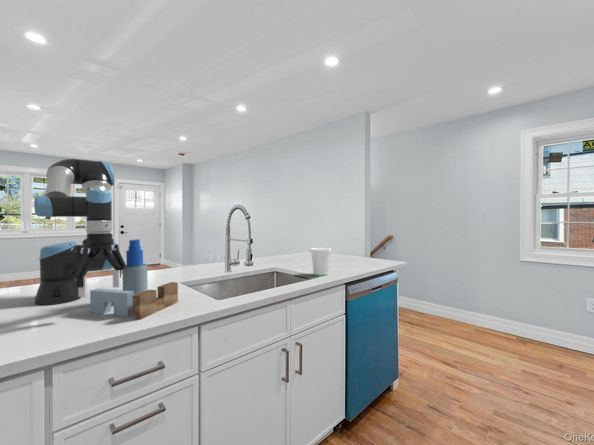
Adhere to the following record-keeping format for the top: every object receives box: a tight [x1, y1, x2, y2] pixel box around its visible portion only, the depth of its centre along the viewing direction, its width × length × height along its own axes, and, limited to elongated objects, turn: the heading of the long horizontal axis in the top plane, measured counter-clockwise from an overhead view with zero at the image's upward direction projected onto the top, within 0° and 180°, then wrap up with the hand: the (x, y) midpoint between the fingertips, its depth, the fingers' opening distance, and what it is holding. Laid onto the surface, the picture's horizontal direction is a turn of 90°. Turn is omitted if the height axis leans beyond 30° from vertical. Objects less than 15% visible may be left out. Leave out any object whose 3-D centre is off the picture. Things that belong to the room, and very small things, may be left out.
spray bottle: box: [121, 239, 149, 295], centre depth 120 cm, size 9×9×25 cm
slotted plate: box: [89, 288, 134, 317], centre depth 104 cm, size 16×3×8 cm, turn 76°
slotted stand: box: [132, 281, 179, 320], centre depth 108 cm, size 3×20×8 cm, turn 166°
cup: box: [309, 247, 332, 277], centre depth 172 cm, size 12×12×15 cm
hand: (100, 291), depth 105 cm, fingers open, 13 cm apart
